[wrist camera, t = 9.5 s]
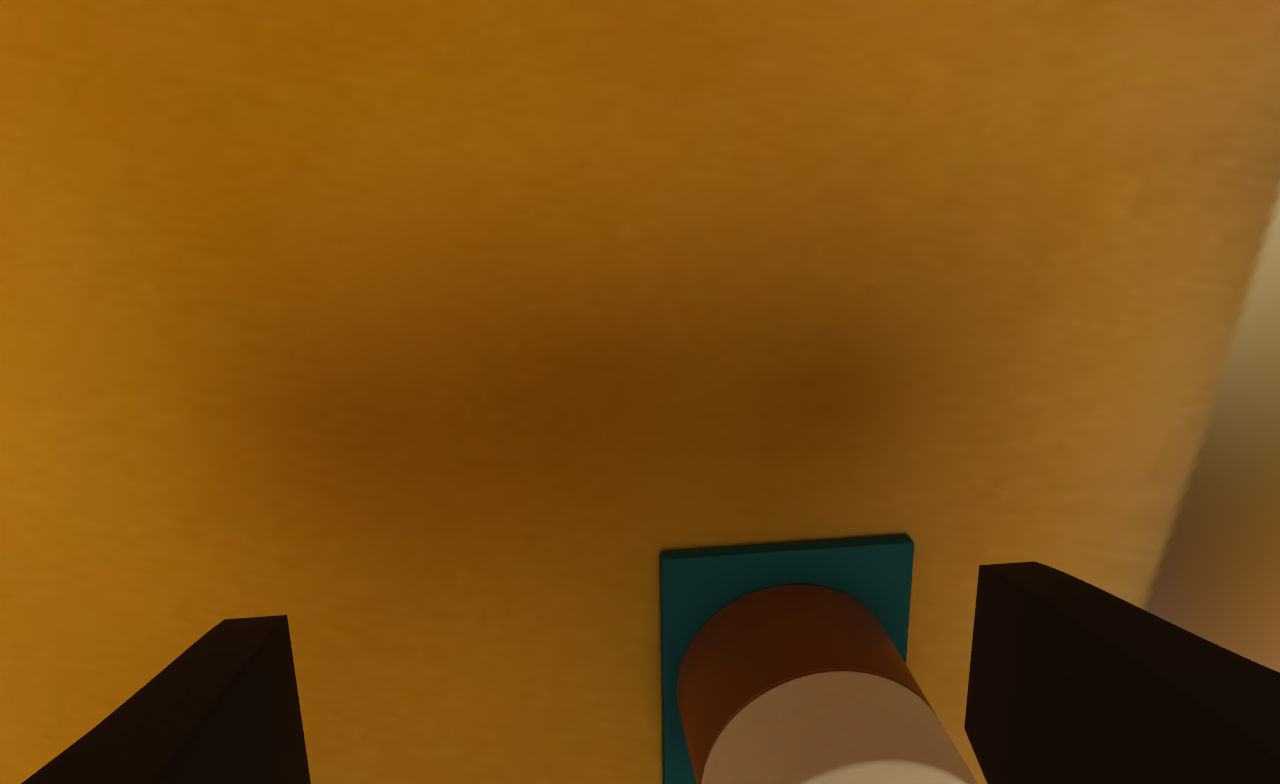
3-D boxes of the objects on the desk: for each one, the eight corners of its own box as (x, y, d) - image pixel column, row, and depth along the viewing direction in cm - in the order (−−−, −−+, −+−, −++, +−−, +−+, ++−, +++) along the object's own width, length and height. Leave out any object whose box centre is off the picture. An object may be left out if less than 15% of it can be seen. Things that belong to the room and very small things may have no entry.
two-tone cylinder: (887, 764, 23) (994, 979, 18) (676, 783, 23) (725, 1009, 18) (900, 574, 22) (1021, 750, 17) (674, 591, 21) (726, 776, 16)
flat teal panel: (890, 782, 24) (897, 794, 24) (663, 803, 24) (665, 816, 23) (907, 533, 22) (914, 542, 22) (659, 550, 22) (661, 560, 21)
